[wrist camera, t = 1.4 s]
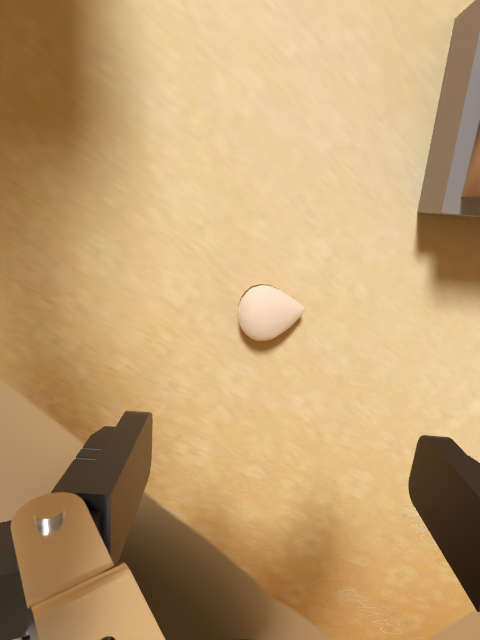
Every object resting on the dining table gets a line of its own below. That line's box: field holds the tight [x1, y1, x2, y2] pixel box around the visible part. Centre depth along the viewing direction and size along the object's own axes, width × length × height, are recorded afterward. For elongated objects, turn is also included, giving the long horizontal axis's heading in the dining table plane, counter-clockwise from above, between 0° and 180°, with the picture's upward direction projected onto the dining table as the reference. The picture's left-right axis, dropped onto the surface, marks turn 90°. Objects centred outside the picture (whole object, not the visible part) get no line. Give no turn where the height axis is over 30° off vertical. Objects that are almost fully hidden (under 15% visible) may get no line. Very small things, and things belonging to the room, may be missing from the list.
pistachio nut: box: [238, 284, 305, 341], centre depth 29 cm, size 4×5×2 cm
